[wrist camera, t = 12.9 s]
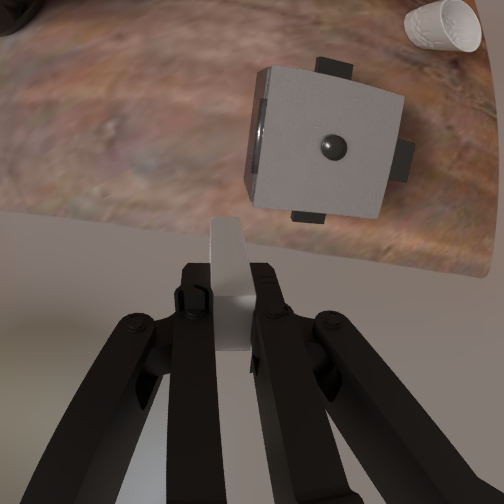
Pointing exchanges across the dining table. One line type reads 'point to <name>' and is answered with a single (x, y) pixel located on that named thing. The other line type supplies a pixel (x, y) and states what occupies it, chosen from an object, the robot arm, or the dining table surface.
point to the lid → (327, 144)
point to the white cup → (444, 26)
